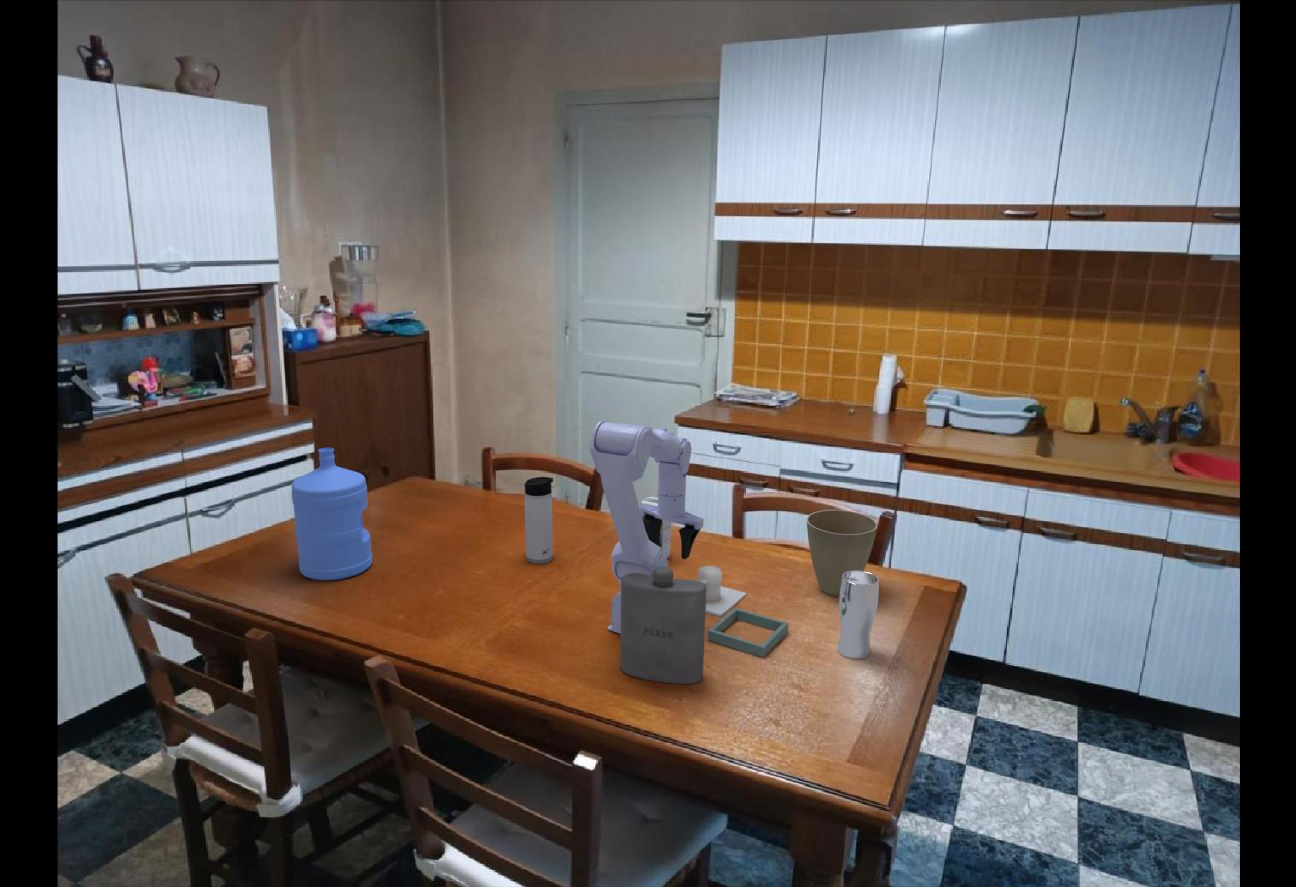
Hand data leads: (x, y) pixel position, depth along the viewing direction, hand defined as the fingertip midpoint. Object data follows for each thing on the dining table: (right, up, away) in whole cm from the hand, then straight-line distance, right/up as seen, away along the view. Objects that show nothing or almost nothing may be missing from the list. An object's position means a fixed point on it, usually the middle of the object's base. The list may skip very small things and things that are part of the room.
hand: (670, 553), depth 170 cm
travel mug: (-30, -4, +19) cm, 36 cm away
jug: (+8, -9, 0) cm, 12 cm away
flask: (-2, -18, -28) cm, 33 cm away
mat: (+8, -10, 0) cm, 13 cm away
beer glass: (+34, -16, -20) cm, 42 cm away
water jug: (-76, -5, +13) cm, 77 cm away
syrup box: (-3, -4, +21) cm, 22 cm away
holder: (+15, -14, -15) cm, 25 cm away
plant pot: (+37, -9, +6) cm, 38 cm away
